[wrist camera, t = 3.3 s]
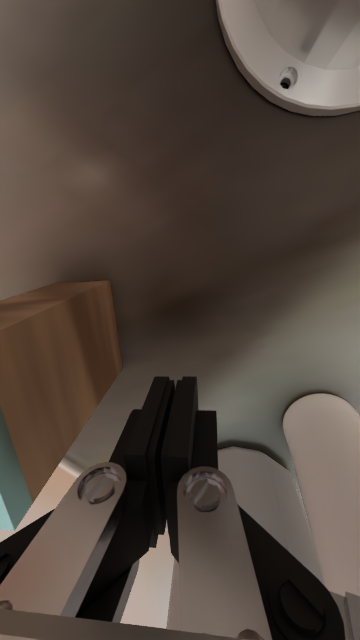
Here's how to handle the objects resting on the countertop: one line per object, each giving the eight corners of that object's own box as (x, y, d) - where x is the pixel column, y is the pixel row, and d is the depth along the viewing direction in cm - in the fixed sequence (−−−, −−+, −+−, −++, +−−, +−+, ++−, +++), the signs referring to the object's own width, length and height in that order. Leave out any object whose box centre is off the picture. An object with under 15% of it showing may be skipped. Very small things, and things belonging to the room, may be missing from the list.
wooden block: (109, 280, 18) (-53, 354, 7) (122, 367, 21) (14, 530, 9) (57, 282, 19) (-171, 355, 8) (75, 367, 21) (-81, 521, 10)
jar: (261, 534, 25) (370, 1193, 8) (167, 496, 25) (68, 1084, 8) (317, 465, 21) (718, 1351, 4) (208, 421, 21) (195, 1163, 4)
